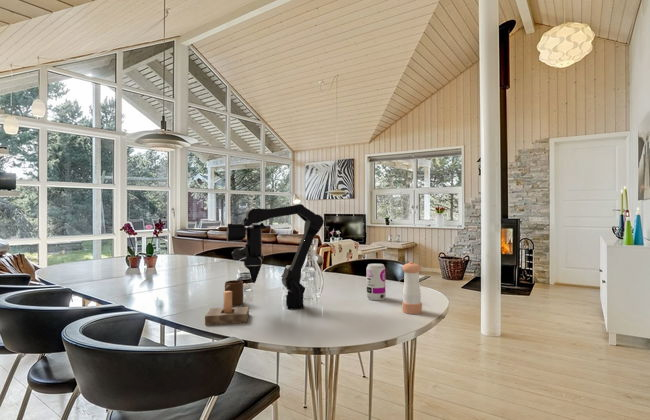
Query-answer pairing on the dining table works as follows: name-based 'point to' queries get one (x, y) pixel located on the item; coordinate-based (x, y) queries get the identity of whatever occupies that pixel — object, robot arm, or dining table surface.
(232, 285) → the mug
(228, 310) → the peg
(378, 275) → the supplement can
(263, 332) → the dining table surface
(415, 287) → the pepper shaker
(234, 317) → the hole block
